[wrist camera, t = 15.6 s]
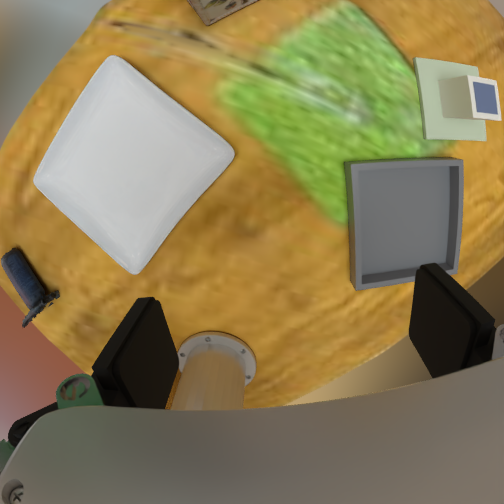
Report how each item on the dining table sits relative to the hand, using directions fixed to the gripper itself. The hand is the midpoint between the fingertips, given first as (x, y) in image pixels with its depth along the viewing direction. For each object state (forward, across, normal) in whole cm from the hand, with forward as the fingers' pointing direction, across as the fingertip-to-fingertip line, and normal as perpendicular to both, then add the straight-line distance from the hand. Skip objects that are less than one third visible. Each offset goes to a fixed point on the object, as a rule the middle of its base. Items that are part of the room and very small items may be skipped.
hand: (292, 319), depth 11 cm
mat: (+28, -26, -10) cm, 40 cm away
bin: (+28, -17, +6) cm, 34 cm away
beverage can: (+29, +42, +8) cm, 52 cm away
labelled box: (+28, -26, -10) cm, 39 cm away
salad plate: (+29, +18, -6) cm, 35 cm away
